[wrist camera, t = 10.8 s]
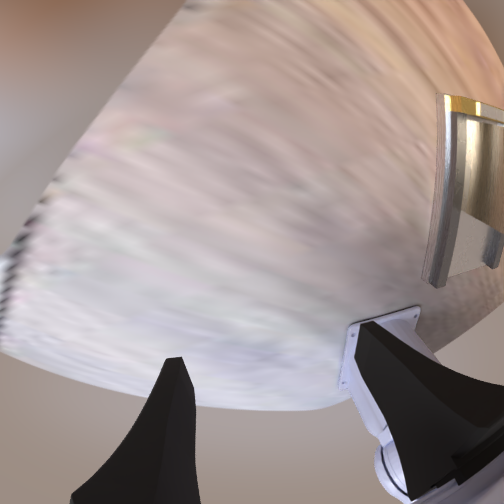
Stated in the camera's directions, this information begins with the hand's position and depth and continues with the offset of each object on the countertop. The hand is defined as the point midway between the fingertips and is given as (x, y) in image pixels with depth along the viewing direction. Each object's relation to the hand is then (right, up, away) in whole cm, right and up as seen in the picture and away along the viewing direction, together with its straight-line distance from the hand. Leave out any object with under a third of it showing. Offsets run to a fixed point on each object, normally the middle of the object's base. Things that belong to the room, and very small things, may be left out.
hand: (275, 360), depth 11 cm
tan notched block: (+19, +11, +7) cm, 23 cm away
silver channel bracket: (+19, +10, +9) cm, 23 cm away
